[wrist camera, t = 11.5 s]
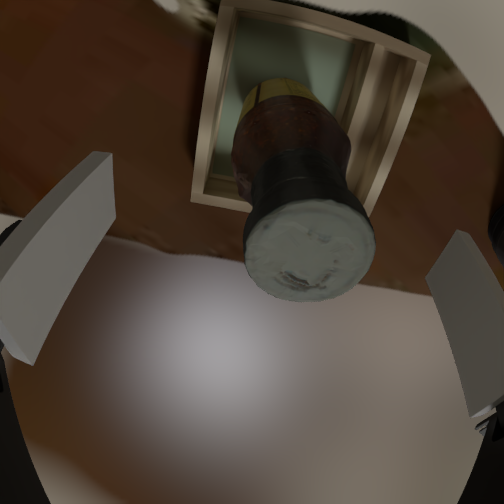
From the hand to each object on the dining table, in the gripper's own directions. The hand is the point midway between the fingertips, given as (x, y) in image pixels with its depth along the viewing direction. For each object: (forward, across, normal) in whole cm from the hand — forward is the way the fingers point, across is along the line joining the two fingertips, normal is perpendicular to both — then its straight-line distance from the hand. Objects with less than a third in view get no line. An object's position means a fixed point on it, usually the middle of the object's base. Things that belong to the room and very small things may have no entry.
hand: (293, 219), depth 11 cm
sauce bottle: (+18, 0, 0) cm, 18 cm away
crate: (+18, +2, -1) cm, 18 cm away
